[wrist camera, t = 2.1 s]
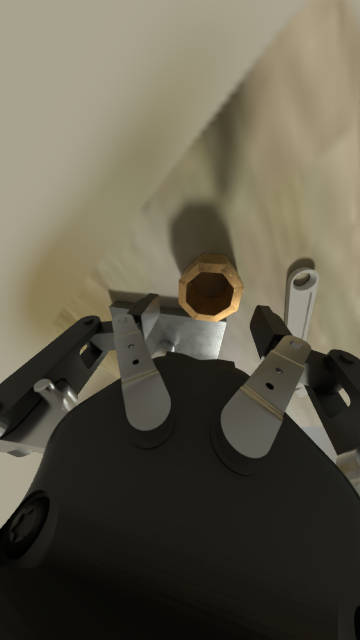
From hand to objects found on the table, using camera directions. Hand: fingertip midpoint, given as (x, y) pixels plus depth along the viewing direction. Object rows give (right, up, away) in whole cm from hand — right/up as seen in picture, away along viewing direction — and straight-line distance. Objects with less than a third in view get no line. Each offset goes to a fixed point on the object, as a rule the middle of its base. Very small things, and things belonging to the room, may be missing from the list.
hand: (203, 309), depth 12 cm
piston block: (-4, -5, +15) cm, 16 cm away
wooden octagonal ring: (+2, +4, +7) cm, 9 cm away
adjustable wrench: (+16, -5, +11) cm, 20 cm away
